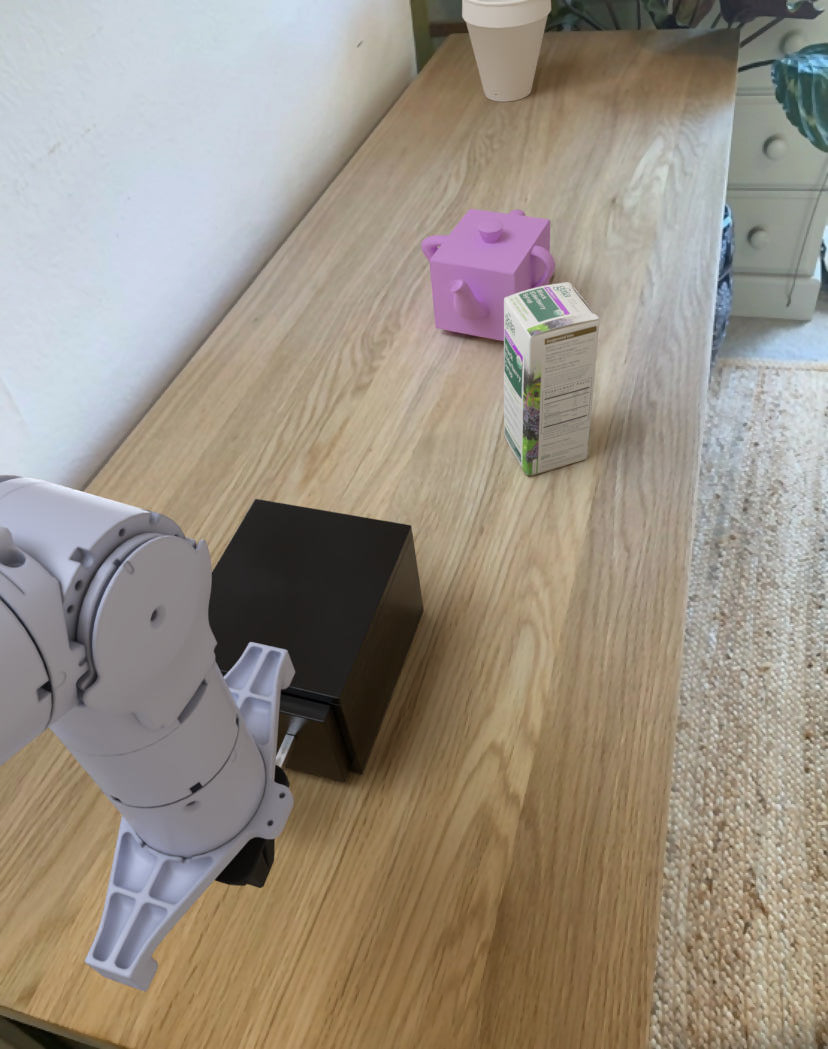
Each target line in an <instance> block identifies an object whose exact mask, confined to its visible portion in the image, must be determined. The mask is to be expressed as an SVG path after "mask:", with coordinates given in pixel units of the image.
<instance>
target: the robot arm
mask: <svg viewBox="0 0 828 1049" xmlns="http://www.w3.org/2000/svg"><path fill="white" fill-rule="evenodd" d="M212 568H213V567H212V559H211V553H210V549H209V546H208V543H207V541H206V539H203V538H202V539H200V540H199V541H198V542H197V541H196V539H194V538H190V537H187V536H186V535H185V533H184V531H183V530H182V528H181V527H180V525H179V524H177V523H176V522H175V520H173V519H172V518H170V517H169V516H167V515H164V514H162V513H159V512H157V511H152V510H149V509H145V508H141V507H138V506H135V505H132V504H131V505H130V504H129V503H128V504H127V503H124V502H121V501H118V500H114V499H110V498H106V497H104V496H100V495H96V494H92V493H89V492H85V491H82V490H79V489H75V488H73V487H68V486H64V485H61V484H58V483H55V482H51V481H47V480H44V479H40V478H36V477H24V476H20V475H17V474H15V475H14V474H0V768H1V766H3V765H5V764H6V763H7V762H9V760H11V759H12V758H13V757H14V756H16V755H17V754H18V753H19V752H20V751H22V750H23V749H24V748H25V747H27V746H28V745H29V744H30V743H32V742H33V741H34V740H35V739H37V738H38V737H39V736H40V735H41V734H43V733H44V732H45V731H46V730H48V729H50V730H51V732H52V733H53V734H54V735H55V736H56V738H57V739H58V740H59V741H60V743H61V744H62V745H63V746H64V747H65V749H67V751H68V752H69V753H70V754H71V756H73V758H74V759H75V760H76V761H77V763H78V764H79V765H80V766H81V768H82V769H83V770H84V771H85V772H86V774H87V775H88V776H89V777H90V778H91V779H92V781H93V782H94V783H95V784H96V785H97V787H98V788H99V790H100V791H101V792H102V793H103V795H104V796H105V797H106V798H107V800H108V801H109V802H110V803H111V804H112V805H113V807H114V808H115V809H116V810H117V811H118V812H119V814H120V815H121V818H120V824H119V828H118V834H117V838H116V842H115V849H114V854H113V860H112V865H111V869H110V875H109V880H108V886H107V890H106V895H105V900H104V904H103V909H102V910H103V911H102V914H101V918H100V922H99V925H98V928H97V932H96V934H95V937H94V940H93V942H92V944H91V946H90V948H89V949H88V953H87V955H86V956H85V959H84V963H85V964H86V965H87V966H89V967H90V968H91V969H92V970H94V971H95V972H97V973H98V974H99V975H101V976H102V977H103V978H104V979H105V978H106V979H108V980H111V981H114V982H117V983H119V984H121V985H124V986H128V987H130V988H134V989H136V990H139V991H141V992H145V993H146V992H148V990H149V988H150V987H151V985H152V982H153V979H154V978H155V976H156V974H157V971H158V969H159V963H158V961H157V960H156V959H155V958H154V957H153V954H154V953H155V952H156V950H157V949H158V947H159V946H160V945H161V943H162V942H163V940H164V939H165V938H166V937H167V936H168V934H169V933H170V932H171V931H172V930H173V928H174V927H175V926H176V925H177V924H178V922H180V920H181V919H182V918H183V917H184V916H185V914H186V913H187V912H189V910H190V909H191V908H192V906H193V905H194V904H195V903H196V902H198V899H200V897H201V896H202V895H203V894H204V893H205V891H207V890H208V888H209V887H210V886H211V885H212V883H214V881H215V882H218V883H222V884H223V885H228V886H236V887H238V886H240V887H245V886H247V885H249V886H252V887H255V888H259V889H261V888H264V886H265V884H266V883H267V879H268V877H269V875H270V872H271V871H272V870H271V869H272V868H273V865H274V862H275V854H276V853H275V849H276V847H275V842H276V840H275V839H276V838H278V837H280V835H282V832H284V829H285V827H286V824H287V823H288V819H289V817H290V814H291V812H292V810H293V807H294V804H295V798H294V795H293V793H292V792H291V791H292V790H291V789H290V784H291V782H290V780H289V778H288V775H287V773H286V772H285V770H284V771H283V769H282V768H281V767H279V766H278V765H275V763H276V749H277V735H278V720H279V706H280V693H281V689H286V688H288V686H289V685H290V683H291V681H292V679H293V676H294V674H295V670H294V667H293V664H292V662H291V659H290V656H289V653H288V651H287V650H285V649H281V648H276V647H272V646H267V645H263V644H258V643H254V642H250V643H249V644H248V646H247V648H246V649H245V651H244V653H243V654H242V656H241V657H240V659H239V660H238V661H237V663H236V664H235V665H234V666H233V667H232V669H231V670H230V671H229V672H228V673H227V674H226V675H225V676H224V677H223V675H222V673H221V671H220V669H219V667H218V665H217V663H216V661H215V653H214V648H215V646H216V645H217V641H216V639H215V637H214V635H213V633H212V630H211V628H210V625H209V620H208V607H209V600H210V593H211V583H212V571H213V569H212Z"/></svg>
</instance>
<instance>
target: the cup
mask: <svg viewBox="0 0 828 1049" xmlns="http://www.w3.org/2000/svg"><path fill="white" fill-rule="evenodd" d="M461 1H462V2H461V3H462V4H461V17H462V19H463V20H464V22H465V24H466V27H467V31H468V35H469V40H470V43H471V47H472V52H473V55H474V59H475V62H476V66H477V71H478V74H479V78H480V81H481V86H482V89H483V90H482V91H483V93H484V96H485V97H486V98H487V99H488V100H490V101H494V102H501V103H502V102H505V103H506V102H514V101H519V100H523V99H525V98H526V97H528V96H529V95H530V94H531V92H532V88H533V84H534V79H535V74H536V70H537V66H538V61H539V56H540V52H541V48H542V42H543V39H544V35H545V34H544V33H545V29H546V25H547V20H548V16H549V14H550V13H551V11H552V0H461ZM530 87H531V88H530ZM495 94H497V95H495Z"/></svg>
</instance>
